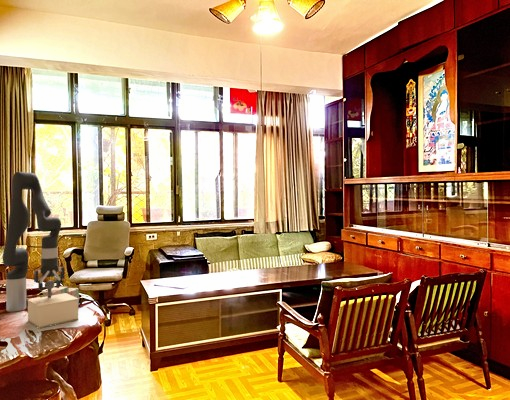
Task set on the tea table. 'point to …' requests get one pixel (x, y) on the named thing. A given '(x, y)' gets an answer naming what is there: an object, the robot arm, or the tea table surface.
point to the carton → (52, 313)
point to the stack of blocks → (63, 291)
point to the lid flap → (51, 297)
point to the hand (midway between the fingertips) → (49, 289)
